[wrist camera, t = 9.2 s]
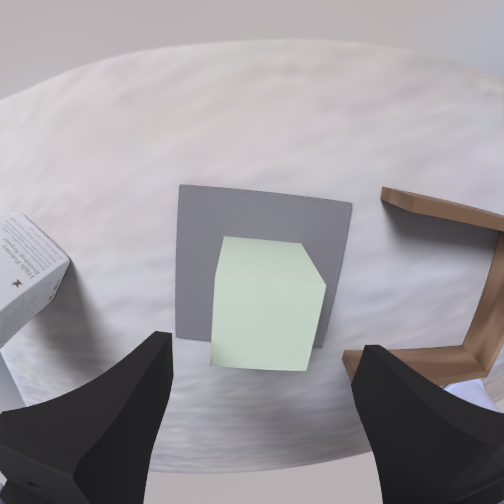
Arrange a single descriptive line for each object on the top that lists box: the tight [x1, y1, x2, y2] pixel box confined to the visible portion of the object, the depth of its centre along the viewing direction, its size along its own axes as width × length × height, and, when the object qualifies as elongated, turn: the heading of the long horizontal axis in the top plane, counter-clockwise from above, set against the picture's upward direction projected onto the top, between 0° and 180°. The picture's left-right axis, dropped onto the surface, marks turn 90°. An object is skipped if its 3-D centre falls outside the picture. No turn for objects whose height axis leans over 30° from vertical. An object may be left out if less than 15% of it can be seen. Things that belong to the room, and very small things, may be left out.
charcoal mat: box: [175, 185, 352, 348], centre depth 19 cm, size 10×10×1 cm
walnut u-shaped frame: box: [342, 187, 504, 386], centre depth 18 cm, size 13×13×4 cm
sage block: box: [210, 236, 326, 371], centre depth 16 cm, size 4×4×6 cm
